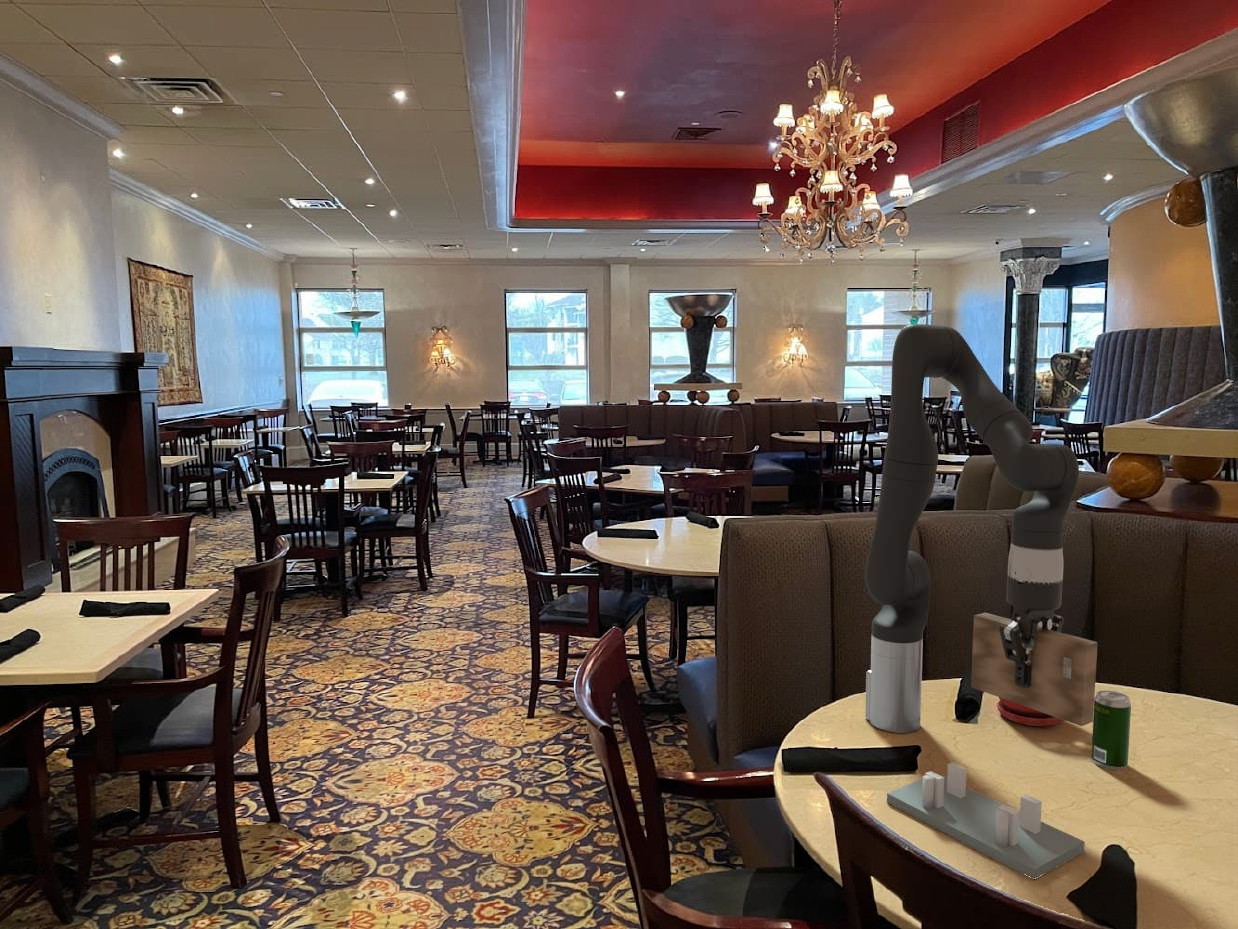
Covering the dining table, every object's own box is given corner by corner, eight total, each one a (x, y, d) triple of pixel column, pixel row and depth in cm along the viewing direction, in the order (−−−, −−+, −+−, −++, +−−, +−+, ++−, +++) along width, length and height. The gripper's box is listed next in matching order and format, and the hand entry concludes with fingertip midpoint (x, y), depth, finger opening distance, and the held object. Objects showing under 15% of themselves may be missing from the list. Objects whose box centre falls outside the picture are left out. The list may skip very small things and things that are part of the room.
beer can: (1117, 774, 137) (1121, 704, 136) (1084, 762, 142) (1088, 694, 140) (1133, 765, 140) (1137, 697, 139) (1100, 754, 145) (1104, 687, 143)
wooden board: (970, 687, 135) (973, 615, 133) (982, 683, 136) (985, 612, 135) (1081, 726, 120) (1086, 646, 118) (1093, 721, 121) (1098, 642, 120)
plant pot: (1058, 708, 165) (1061, 650, 163) (1071, 735, 152) (1074, 672, 151) (987, 700, 169) (989, 643, 168) (993, 726, 157) (996, 664, 155)
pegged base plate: (886, 802, 129) (887, 765, 128) (936, 782, 135) (937, 746, 134) (1034, 880, 108) (1036, 836, 108) (1084, 851, 115) (1086, 810, 114)
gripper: (1037, 564, 133) (1032, 668, 134) (984, 575, 125) (979, 685, 127) (1084, 573, 126) (1078, 682, 128) (1031, 586, 119) (1025, 701, 121)
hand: (1029, 683), depth 128 cm, fingers closed on wooden board, 3 cm apart
